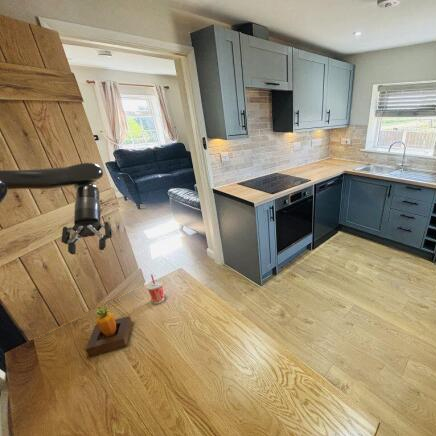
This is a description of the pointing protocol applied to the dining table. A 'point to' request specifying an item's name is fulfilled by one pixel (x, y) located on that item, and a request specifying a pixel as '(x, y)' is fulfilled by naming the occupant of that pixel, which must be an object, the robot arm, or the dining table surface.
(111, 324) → the carrot
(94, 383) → the dining table surface
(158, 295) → the beverage cup
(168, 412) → the dining table surface
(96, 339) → the socket block
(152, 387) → the dining table surface
